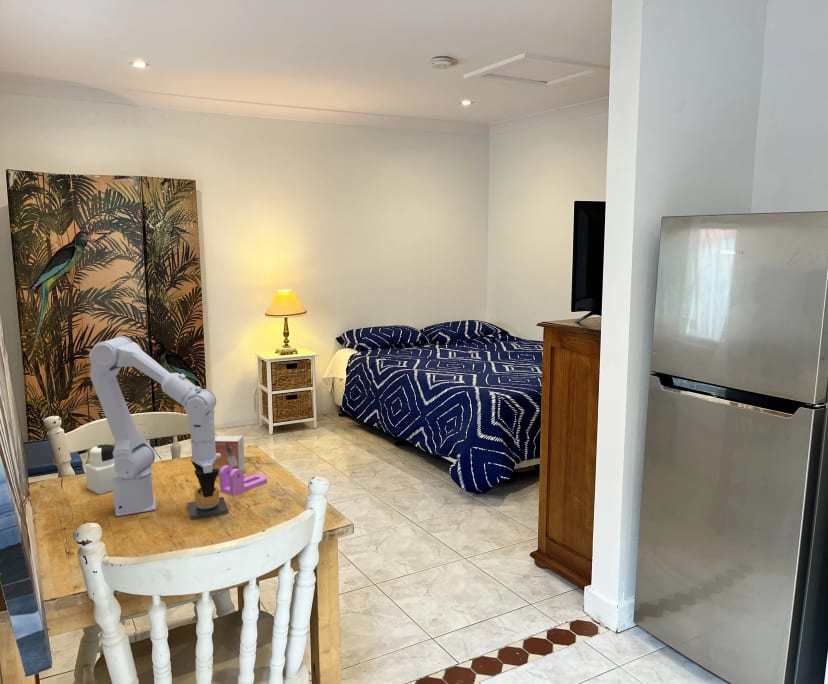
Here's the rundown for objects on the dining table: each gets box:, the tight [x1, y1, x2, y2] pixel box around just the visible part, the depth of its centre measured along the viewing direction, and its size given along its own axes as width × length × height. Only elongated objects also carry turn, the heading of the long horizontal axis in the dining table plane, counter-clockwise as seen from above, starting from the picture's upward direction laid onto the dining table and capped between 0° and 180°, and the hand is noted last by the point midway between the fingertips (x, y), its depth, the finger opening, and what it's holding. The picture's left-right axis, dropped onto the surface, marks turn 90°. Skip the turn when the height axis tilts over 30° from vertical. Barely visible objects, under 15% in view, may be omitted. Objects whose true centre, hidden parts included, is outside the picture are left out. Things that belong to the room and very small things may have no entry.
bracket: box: [218, 465, 268, 497], centre depth 186 cm, size 13×6×7 cm, turn 143°
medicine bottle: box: [84, 444, 119, 495], centre depth 185 cm, size 7×7×12 cm
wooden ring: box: [194, 485, 220, 506], centre depth 171 cm, size 6×6×3 cm
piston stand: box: [186, 491, 229, 521], centre depth 171 cm, size 9×9×6 cm
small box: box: [212, 435, 246, 476], centre depth 197 cm, size 8×6×10 cm
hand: (206, 490), depth 171 cm, fingers open, 7 cm apart
